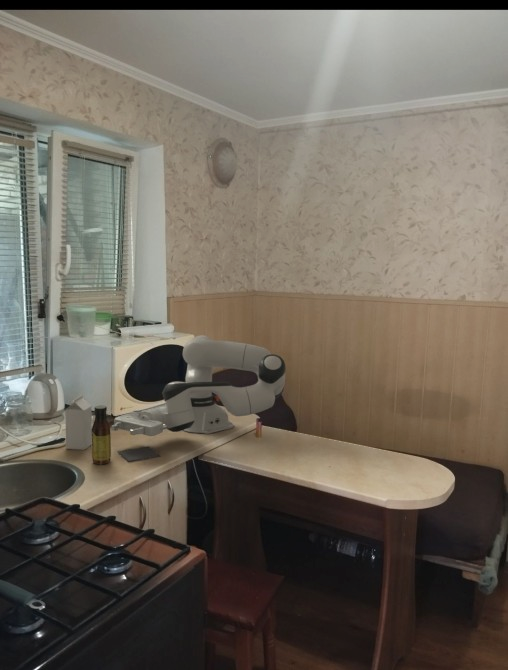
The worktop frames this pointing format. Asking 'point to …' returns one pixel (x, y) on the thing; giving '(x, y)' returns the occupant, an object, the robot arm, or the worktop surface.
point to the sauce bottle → (101, 437)
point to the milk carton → (78, 424)
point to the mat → (138, 454)
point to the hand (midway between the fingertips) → (122, 430)
